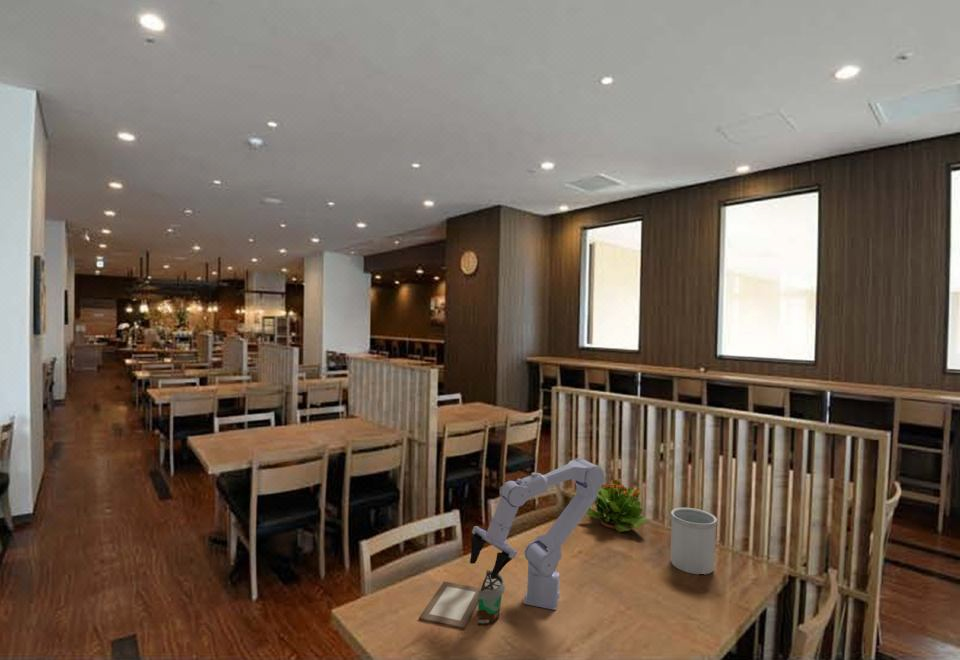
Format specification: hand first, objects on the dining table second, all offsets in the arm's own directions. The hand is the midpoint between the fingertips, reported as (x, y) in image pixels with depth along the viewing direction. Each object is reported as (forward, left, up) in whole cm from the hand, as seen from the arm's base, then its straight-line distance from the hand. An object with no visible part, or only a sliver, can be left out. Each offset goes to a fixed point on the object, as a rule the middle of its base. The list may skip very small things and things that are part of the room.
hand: (482, 570), depth 140 cm
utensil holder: (-62, -51, -12) cm, 81 cm away
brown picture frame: (+8, 0, -12) cm, 14 cm away
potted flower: (-34, -78, -12) cm, 86 cm away
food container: (-4, +2, -12) cm, 13 cm away
